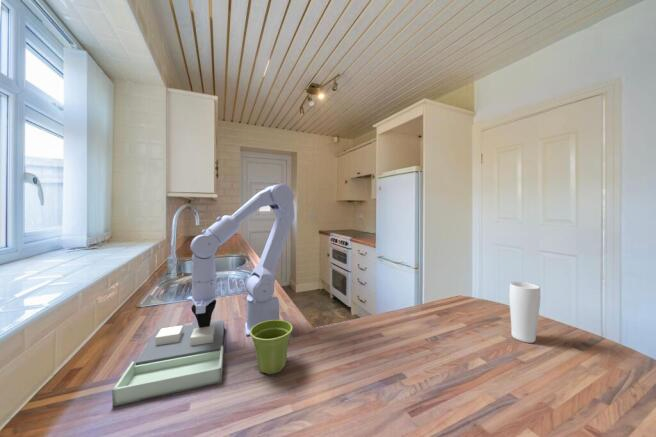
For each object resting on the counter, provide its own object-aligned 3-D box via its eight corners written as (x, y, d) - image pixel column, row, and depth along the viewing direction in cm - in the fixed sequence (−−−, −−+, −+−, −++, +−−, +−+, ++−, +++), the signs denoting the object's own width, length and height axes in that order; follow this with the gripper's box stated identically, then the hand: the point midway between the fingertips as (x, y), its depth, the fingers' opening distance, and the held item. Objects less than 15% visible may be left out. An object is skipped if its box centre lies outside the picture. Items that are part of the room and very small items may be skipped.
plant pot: (254, 385, 50) (254, 343, 49) (247, 360, 58) (246, 324, 58) (298, 371, 54) (298, 332, 54) (285, 350, 62) (285, 316, 62)
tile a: (214, 332, 66) (214, 325, 66) (213, 342, 62) (212, 334, 61) (193, 336, 65) (193, 328, 64) (190, 345, 60) (190, 337, 60)
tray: (223, 357, 59) (223, 345, 59) (221, 382, 51) (221, 368, 51) (132, 375, 53) (132, 361, 53) (112, 406, 44) (112, 390, 44)
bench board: (224, 328, 74) (224, 320, 74) (221, 357, 59) (221, 347, 59) (157, 338, 68) (157, 329, 68) (135, 373, 53) (135, 362, 53)
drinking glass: (534, 335, 70) (535, 283, 69) (543, 347, 64) (544, 290, 63) (505, 330, 73) (506, 280, 72) (511, 341, 67) (512, 286, 66)
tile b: (183, 332, 66) (183, 325, 66) (179, 341, 62) (179, 333, 62) (161, 335, 65) (161, 328, 65) (155, 345, 60) (155, 337, 60)
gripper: (191, 274, 71) (192, 320, 72) (181, 289, 58) (181, 346, 58) (218, 272, 74) (219, 317, 74) (214, 286, 60) (214, 341, 60)
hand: (204, 329), depth 66 cm, fingers closed
